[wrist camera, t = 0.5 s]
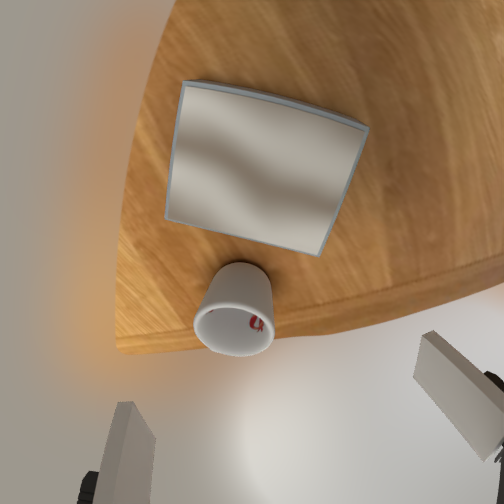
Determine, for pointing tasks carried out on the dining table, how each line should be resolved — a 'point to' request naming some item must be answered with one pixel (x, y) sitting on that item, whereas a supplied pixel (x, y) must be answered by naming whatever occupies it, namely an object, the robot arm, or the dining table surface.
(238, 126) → the grey flat block
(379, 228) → the dining table surface
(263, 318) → the cup
